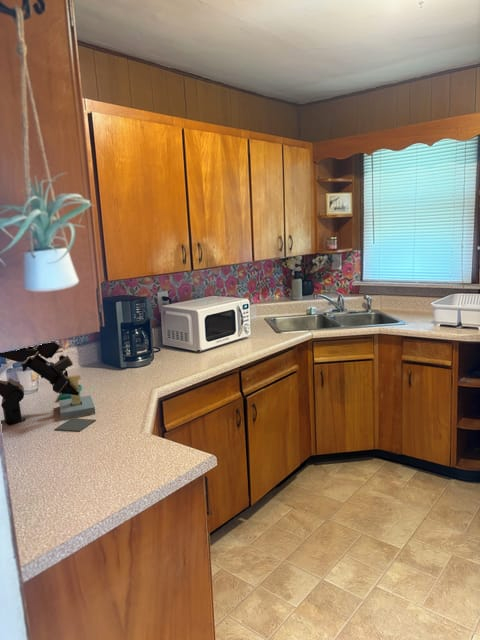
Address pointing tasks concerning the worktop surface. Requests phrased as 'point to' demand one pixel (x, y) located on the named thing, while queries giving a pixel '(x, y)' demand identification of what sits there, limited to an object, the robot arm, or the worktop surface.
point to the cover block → (76, 408)
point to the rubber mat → (75, 424)
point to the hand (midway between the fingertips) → (77, 391)
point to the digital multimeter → (67, 396)
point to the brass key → (74, 383)
